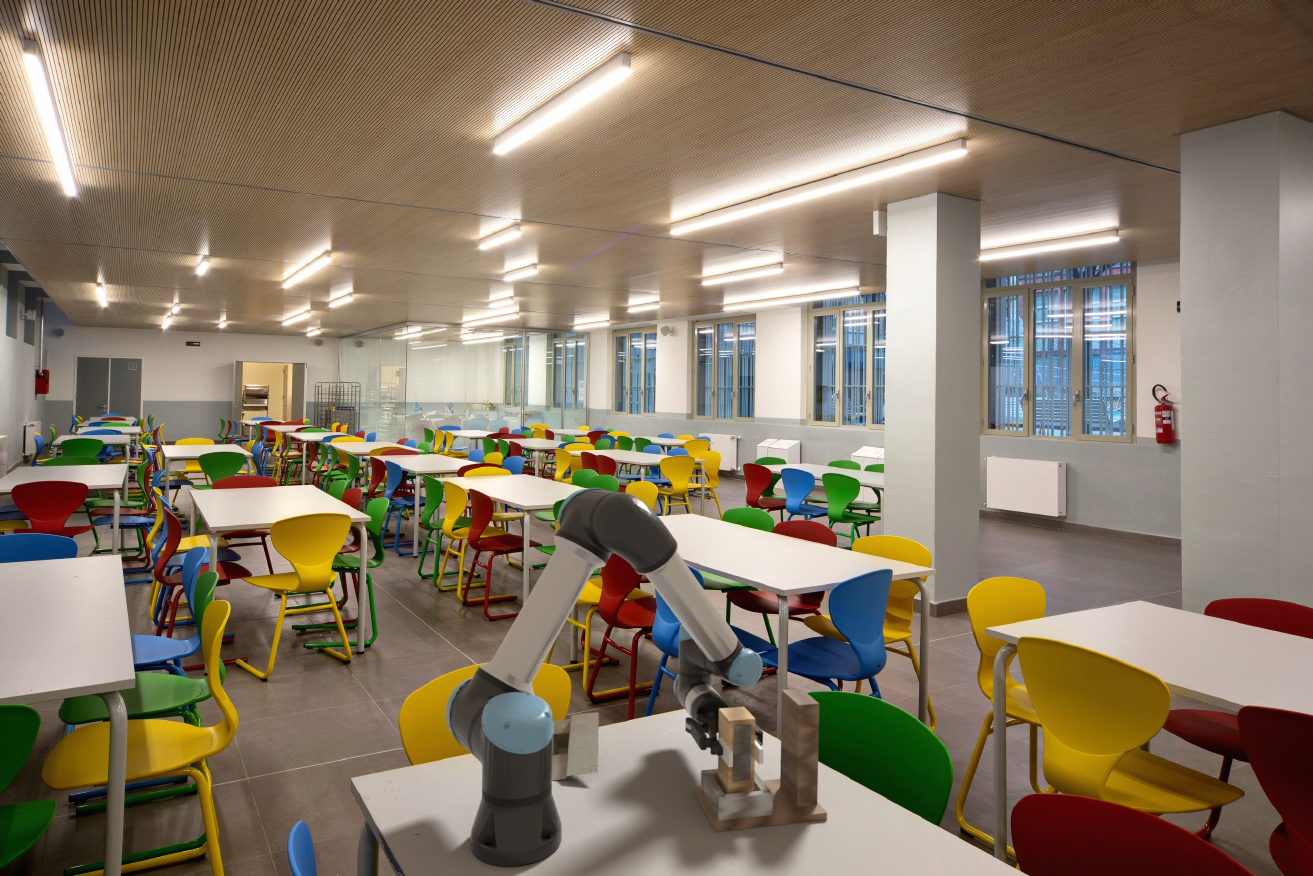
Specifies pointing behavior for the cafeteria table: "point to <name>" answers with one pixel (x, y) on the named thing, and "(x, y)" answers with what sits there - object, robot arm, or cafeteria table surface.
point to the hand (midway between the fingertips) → (746, 758)
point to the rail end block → (737, 750)
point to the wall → (575, 746)
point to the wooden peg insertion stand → (779, 796)
